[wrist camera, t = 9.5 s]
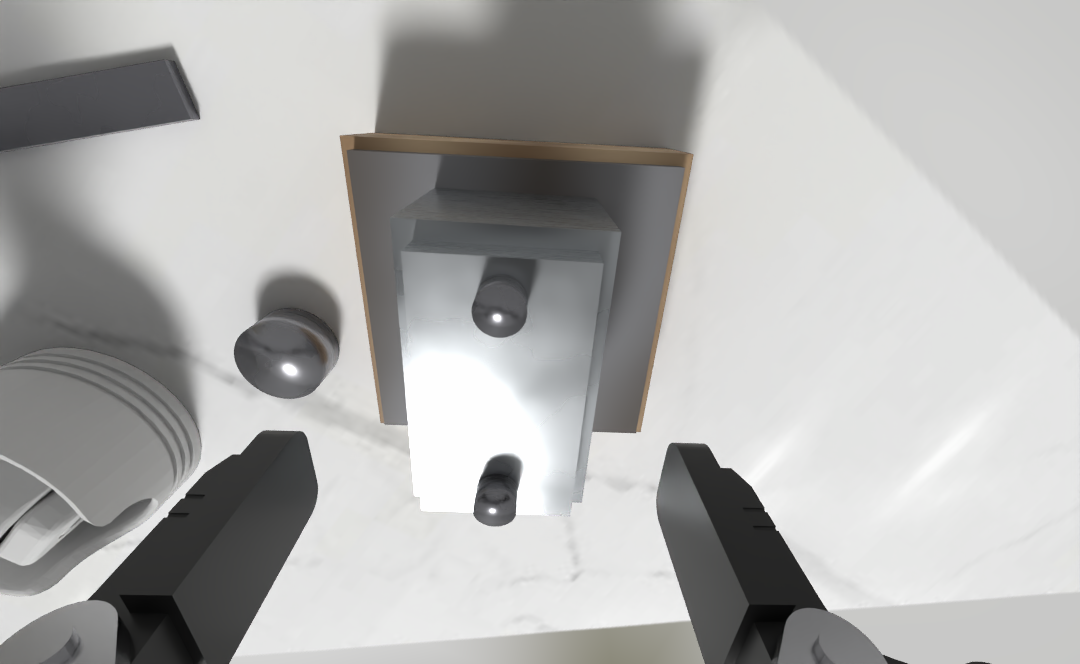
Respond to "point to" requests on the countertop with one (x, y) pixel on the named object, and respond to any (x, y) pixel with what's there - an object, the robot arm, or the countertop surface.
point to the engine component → (82, 460)
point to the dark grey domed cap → (287, 353)
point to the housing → (502, 346)
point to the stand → (533, 168)
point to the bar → (93, 105)
